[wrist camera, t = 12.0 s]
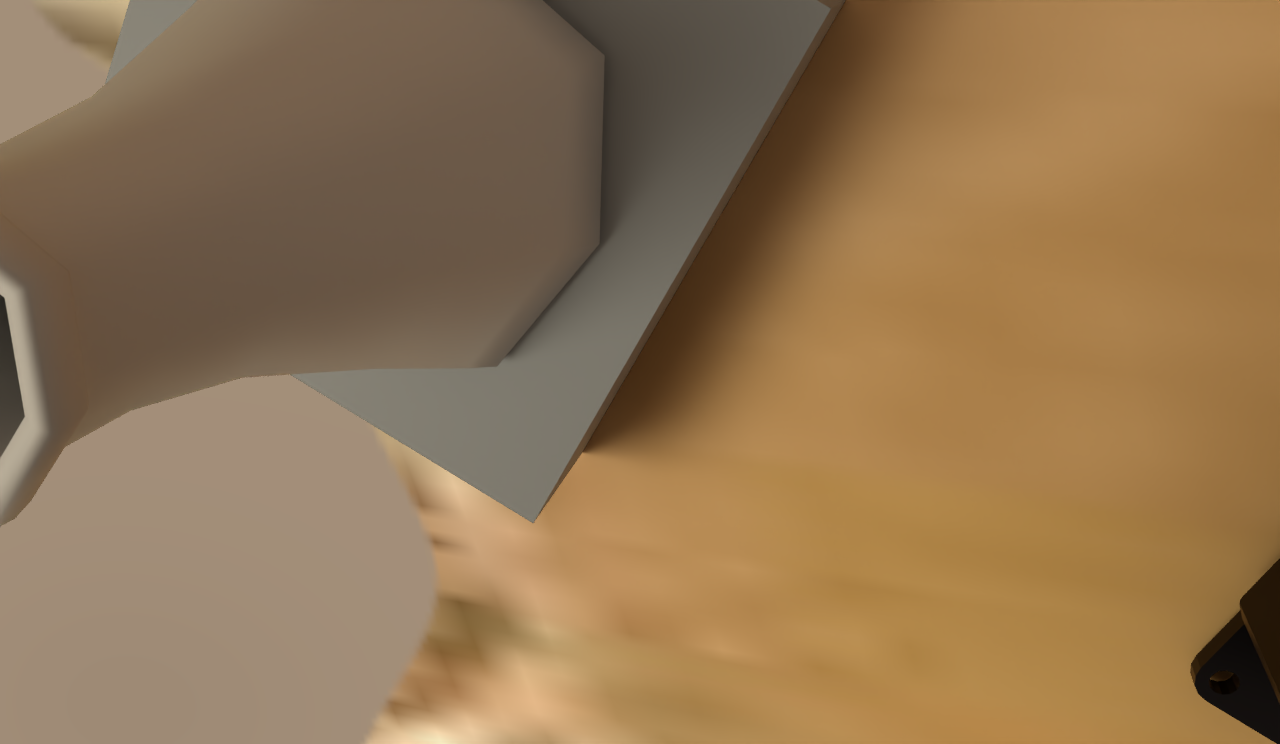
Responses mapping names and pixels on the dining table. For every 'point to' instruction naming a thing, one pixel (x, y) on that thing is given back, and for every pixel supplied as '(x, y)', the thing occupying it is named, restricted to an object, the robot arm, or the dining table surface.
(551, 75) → the flask
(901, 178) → the dining table surface
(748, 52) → the dock
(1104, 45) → the dining table surface
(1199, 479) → the dining table surface
